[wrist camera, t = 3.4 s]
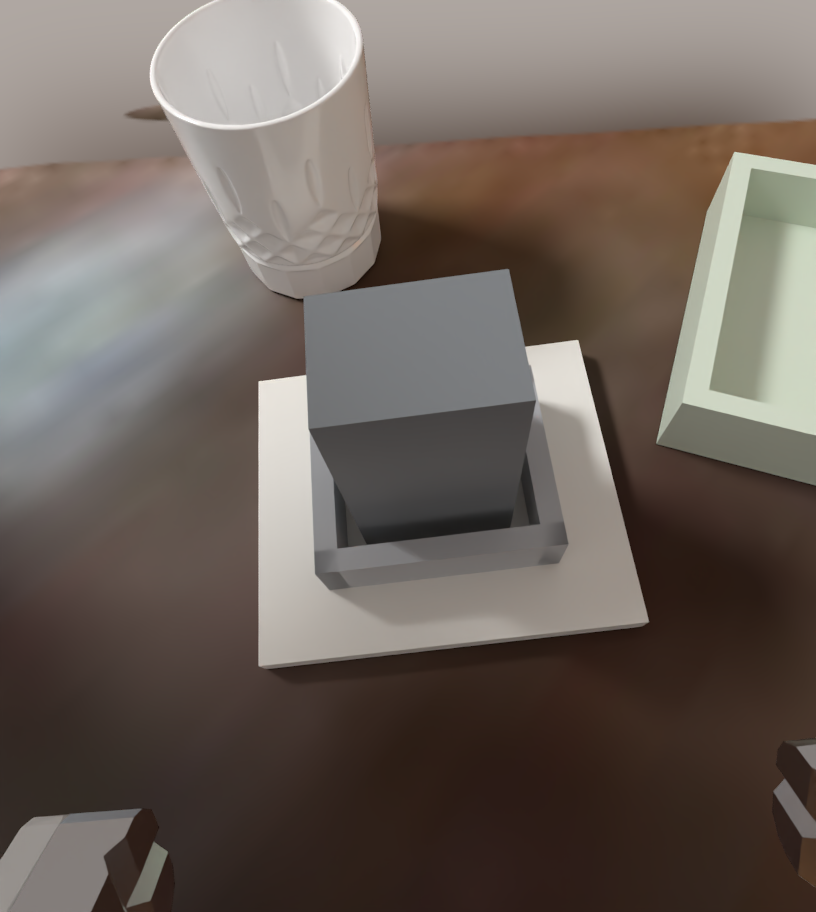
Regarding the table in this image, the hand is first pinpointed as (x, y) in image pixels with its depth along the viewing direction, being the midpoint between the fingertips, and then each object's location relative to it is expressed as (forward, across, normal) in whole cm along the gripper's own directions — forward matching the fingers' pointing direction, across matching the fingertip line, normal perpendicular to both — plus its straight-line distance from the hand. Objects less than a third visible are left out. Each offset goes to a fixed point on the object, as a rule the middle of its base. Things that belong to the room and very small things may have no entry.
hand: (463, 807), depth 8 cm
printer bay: (+18, 0, +4) cm, 18 cm away
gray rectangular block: (+17, 0, +3) cm, 17 cm away
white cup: (+28, +4, -6) cm, 29 cm away
